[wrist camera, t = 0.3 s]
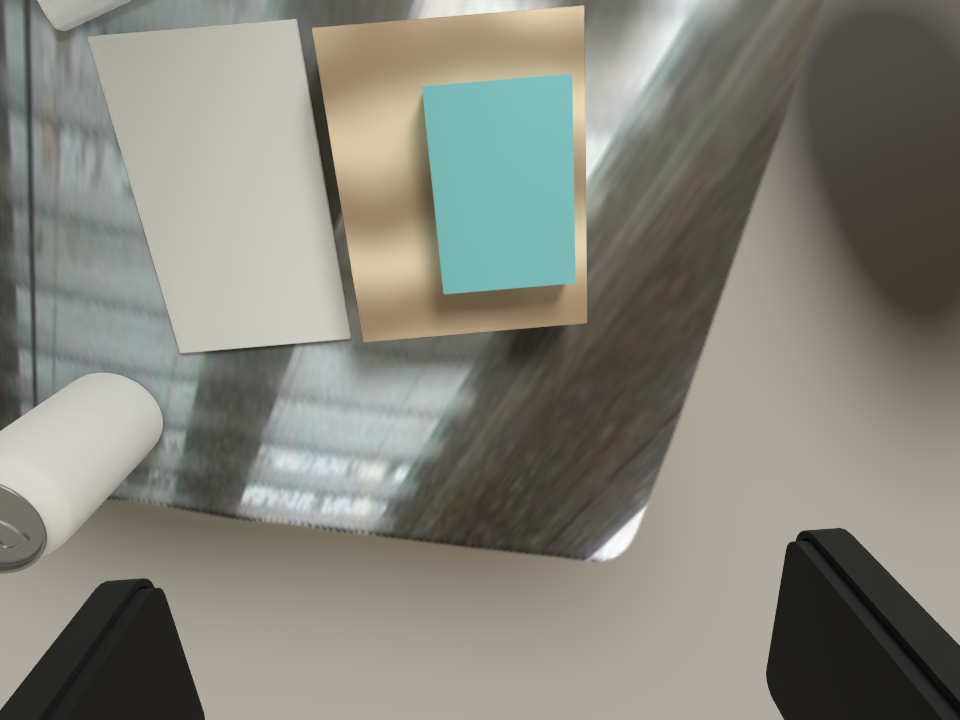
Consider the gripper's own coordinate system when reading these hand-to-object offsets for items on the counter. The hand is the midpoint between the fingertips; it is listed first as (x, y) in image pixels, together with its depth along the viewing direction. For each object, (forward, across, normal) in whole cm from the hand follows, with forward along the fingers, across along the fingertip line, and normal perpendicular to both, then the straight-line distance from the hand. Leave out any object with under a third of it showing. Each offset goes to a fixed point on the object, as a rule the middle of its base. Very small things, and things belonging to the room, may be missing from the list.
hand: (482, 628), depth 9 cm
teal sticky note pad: (+25, -2, -4) cm, 26 cm away
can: (+30, +24, +9) cm, 39 cm away
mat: (+29, +13, -4) cm, 32 cm away
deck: (+29, 0, -4) cm, 30 cm away
